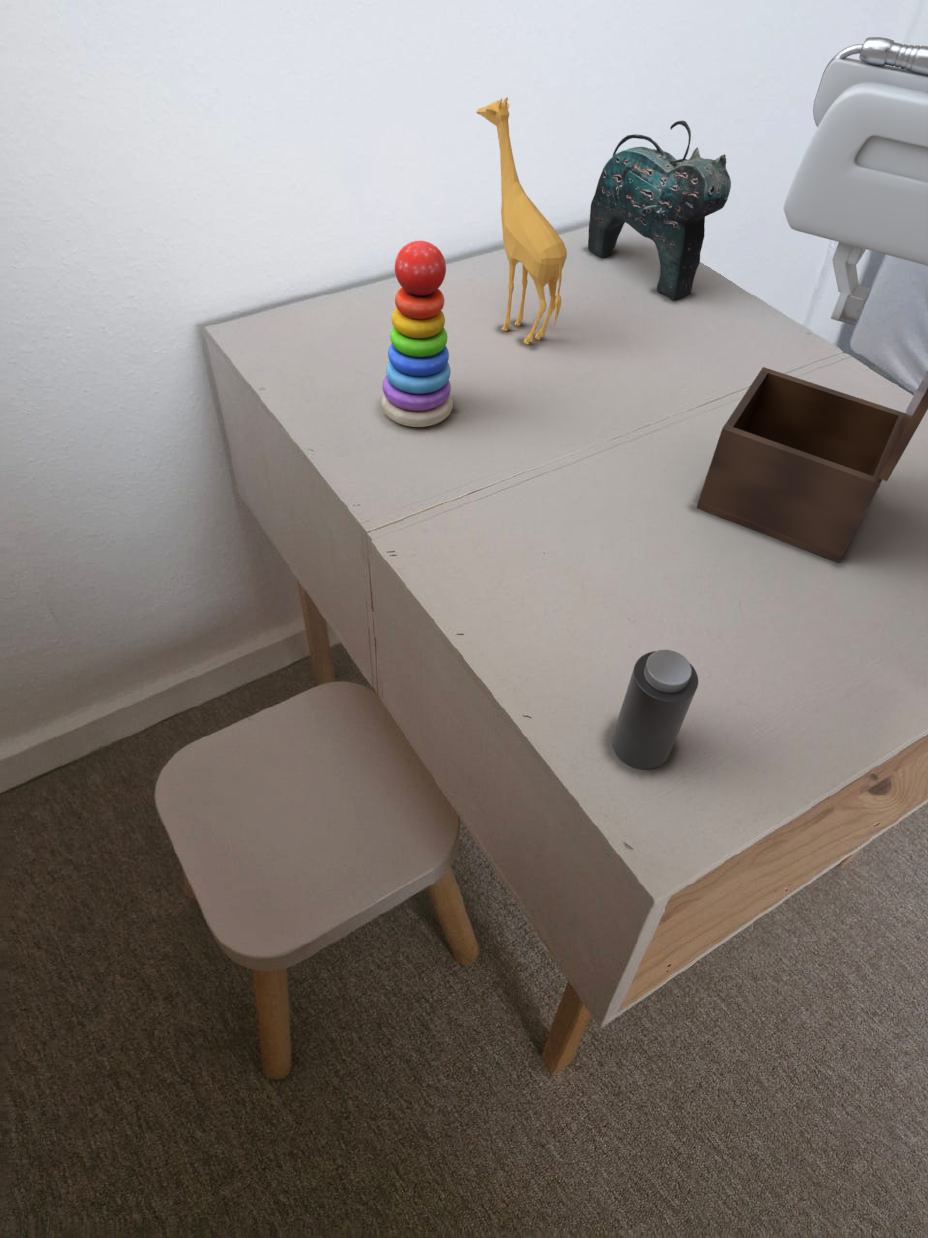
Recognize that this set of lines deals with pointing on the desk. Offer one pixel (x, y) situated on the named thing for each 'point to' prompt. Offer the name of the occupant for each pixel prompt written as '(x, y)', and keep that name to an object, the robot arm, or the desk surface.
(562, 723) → the desk surface
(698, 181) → the ceramic cat
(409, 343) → the stacking toy
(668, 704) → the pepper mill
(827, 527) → the chest
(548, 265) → the giraffe
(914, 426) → the chest door
